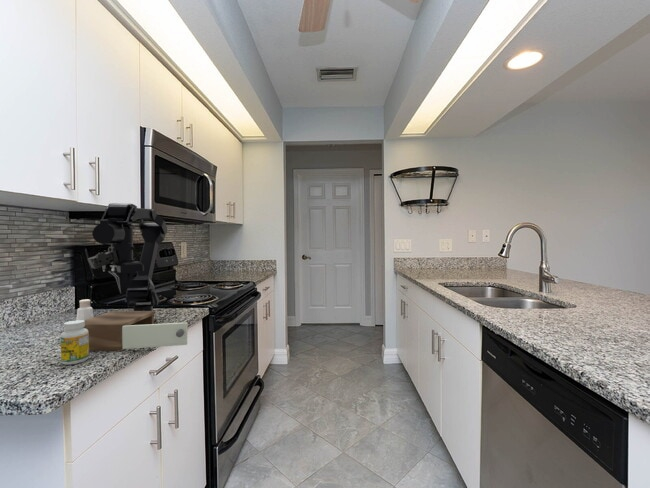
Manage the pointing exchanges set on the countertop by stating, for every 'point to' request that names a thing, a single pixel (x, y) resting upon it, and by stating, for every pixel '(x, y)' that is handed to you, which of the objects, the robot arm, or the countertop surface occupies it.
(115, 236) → the robot arm
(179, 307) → the countertop surface
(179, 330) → the side door
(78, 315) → the salt shaker
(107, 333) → the cabinet
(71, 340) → the supplement bottle
